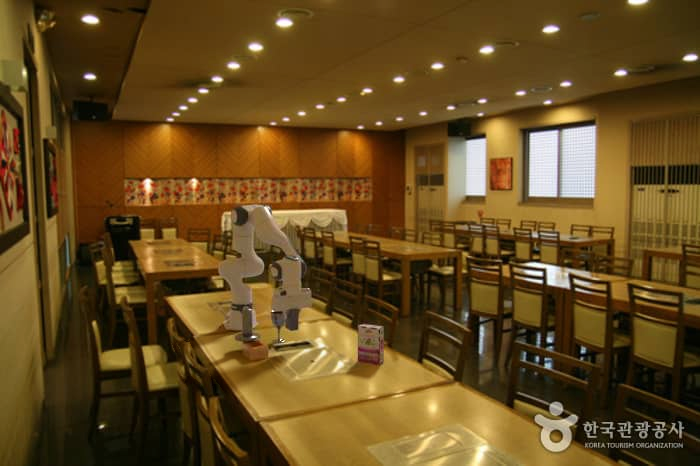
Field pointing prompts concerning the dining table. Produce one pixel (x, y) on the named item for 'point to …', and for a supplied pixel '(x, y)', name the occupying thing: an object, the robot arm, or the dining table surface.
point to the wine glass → (278, 324)
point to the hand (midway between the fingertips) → (291, 318)
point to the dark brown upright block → (292, 320)
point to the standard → (251, 338)
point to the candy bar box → (371, 343)
